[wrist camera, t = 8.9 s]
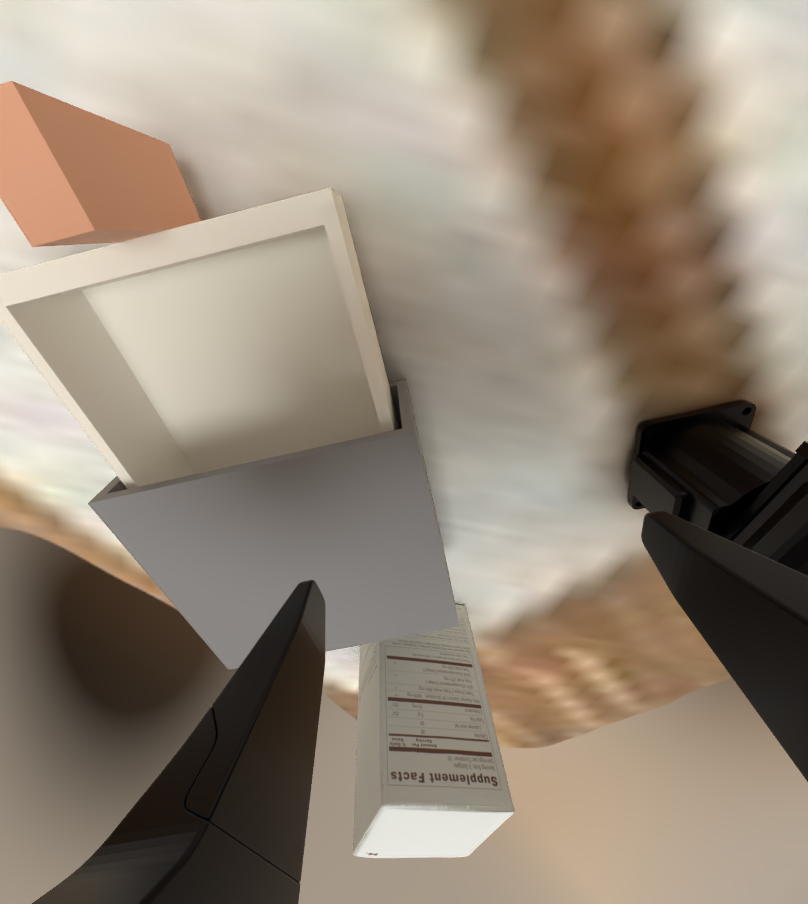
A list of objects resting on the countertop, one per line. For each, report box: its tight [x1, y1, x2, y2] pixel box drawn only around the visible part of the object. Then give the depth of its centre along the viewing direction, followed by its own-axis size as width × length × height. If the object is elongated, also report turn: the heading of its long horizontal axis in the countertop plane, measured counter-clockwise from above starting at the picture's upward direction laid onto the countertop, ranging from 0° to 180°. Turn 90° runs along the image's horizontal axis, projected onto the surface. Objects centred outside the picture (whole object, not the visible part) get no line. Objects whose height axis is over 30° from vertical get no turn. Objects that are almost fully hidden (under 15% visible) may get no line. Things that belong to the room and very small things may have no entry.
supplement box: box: [353, 604, 515, 858], centre depth 26 cm, size 7×7×13 cm
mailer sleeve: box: [88, 379, 459, 669], centre depth 21 cm, size 14×13×6 cm
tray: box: [0, 81, 400, 489], centre depth 15 cm, size 12×15×8 cm
